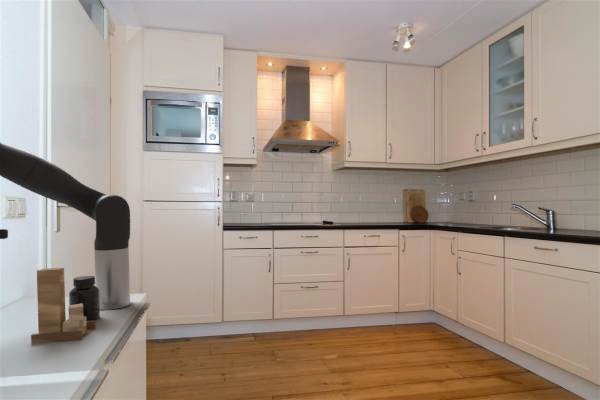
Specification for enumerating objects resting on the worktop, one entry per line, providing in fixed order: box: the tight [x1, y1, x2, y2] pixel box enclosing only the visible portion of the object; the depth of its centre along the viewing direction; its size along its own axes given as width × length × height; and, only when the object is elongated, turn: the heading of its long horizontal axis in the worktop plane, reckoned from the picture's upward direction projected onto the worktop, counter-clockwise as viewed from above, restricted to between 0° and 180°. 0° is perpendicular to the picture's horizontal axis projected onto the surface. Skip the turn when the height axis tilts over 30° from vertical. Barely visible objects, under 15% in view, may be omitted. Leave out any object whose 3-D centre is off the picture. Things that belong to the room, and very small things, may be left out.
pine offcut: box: [63, 317, 87, 334], centre depth 86 cm, size 4×3×4 cm
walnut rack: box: [30, 320, 97, 345], centre depth 86 cm, size 8×10×3 cm
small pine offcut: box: [67, 303, 84, 322], centre depth 87 cm, size 3×3×3 cm
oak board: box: [36, 267, 67, 333], centre depth 86 cm, size 2×4×15 cm, turn 97°
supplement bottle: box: [68, 275, 101, 321], centre depth 98 cm, size 7×7×12 cm
